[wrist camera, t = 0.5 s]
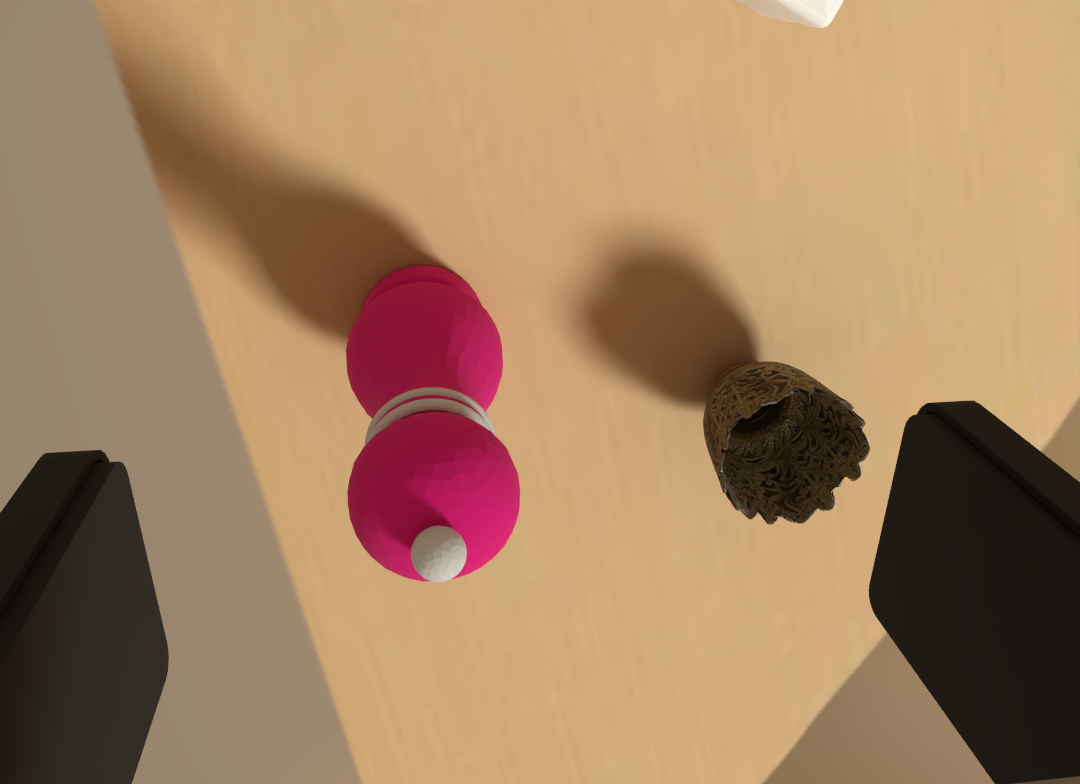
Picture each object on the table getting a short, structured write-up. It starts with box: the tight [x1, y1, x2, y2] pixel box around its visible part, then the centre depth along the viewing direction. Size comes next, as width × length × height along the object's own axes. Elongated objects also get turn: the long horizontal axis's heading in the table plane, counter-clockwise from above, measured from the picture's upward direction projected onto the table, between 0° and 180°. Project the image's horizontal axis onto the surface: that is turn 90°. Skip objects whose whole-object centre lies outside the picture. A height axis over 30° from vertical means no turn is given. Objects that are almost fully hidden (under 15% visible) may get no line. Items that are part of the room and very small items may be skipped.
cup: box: [703, 362, 870, 524], centre depth 46 cm, size 8×7×8 cm
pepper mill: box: [346, 265, 520, 582], centre depth 36 cm, size 7×7×20 cm
